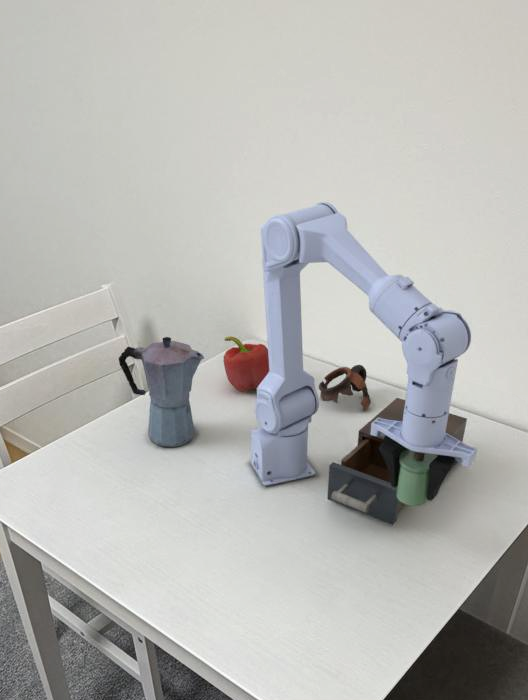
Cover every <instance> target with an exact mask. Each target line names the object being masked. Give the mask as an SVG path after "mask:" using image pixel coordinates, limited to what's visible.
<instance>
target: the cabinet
mask: <svg viewBox="0 0 528 700" xmlns="http://www.w3.org/2000/svg"><path fill="white" fill-rule="evenodd" d="M405 400H406V399H403V398H399V397H396V398H395V399H393V400H392V401H391V402H390V403H388V405H387V406H386V407H384V408H383V409H382V410H381V411H379V412H378V413H377V415H375V416H374V417H373V418H372V419H371V420H370V421H368V422H367V423H366V424H365V425H364V426H363V427H361V428H360V429H359V430H358V433H357V434H358V435H357V446H358V445H359V444H360V443H361V442H362V441H363V440H365V439H366V438H369V439H372V440H375V441H378V442H381V443H383V440H384V436H381V435H379V436H377V437H376V436H373V435H370V434H371V423H372V422H374V421H375V420H376V419H377V418H378V417H379V418H382V419H386V420H393V421H401V422H403V414H404V407H405ZM467 420H468V418H467V417H463V416H459V415H457V414H453V413H450V412H449V414H448V420H447V426H446V432H445V433H447V434H449V435H451V436H452V437H454V438H456V439H457V440H459V441H461V442H463V441H464V437H465V432H466V427H467V426H466V425H467ZM463 443H464V442H463ZM435 455H436V456H438V455H437V454H435ZM458 463H459V461H457V462H456V463H455V464H454V465H453V467H452V468H451V469H450V471H451V470H452V469H453V468H454V467H455V466H456V465H457V464H458Z"/></svg>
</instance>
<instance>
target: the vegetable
mask: <svg viewBox="0 0 528 700" xmlns="http://www.w3.org/2000/svg"><path fill="white" fill-rule="evenodd" d="M224 341H225V342H231V341H232V342H234V343H235V345H237V346H236V347H235V346H234V347H231V348H229V349H228V350H226V351H225V353H224V355H223V366H224V370H225V374H226V378H227V380H228V382H229V383H230V385H231V386H232V387H233V388H234V389H235V390H237V391H240V392H249V391H251V390H252V389H254V390H257V387H258V386H259V385H260V383H261V382H262V381H263V379H264V378H265V377H266V375H267V374H268V373H269V356H268V346H266V345H265V344H262V343H258V344H253V343H245V344H243V343H242V341H241V340H240V339H239V338H237V337H235V336H226V337H225V338H224Z"/></svg>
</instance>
